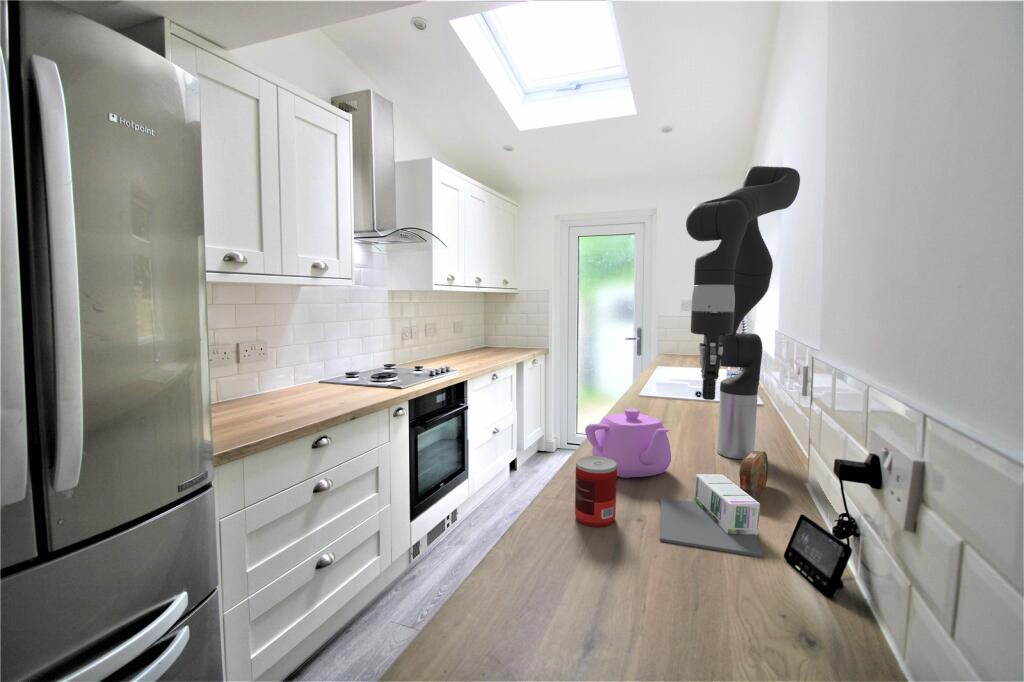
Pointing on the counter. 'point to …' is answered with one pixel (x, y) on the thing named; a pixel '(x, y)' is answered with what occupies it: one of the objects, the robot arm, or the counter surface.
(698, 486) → the syrup box
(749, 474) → the tin
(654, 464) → the teapot
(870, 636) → the counter surface
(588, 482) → the canned food
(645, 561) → the counter surface
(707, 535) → the mat
